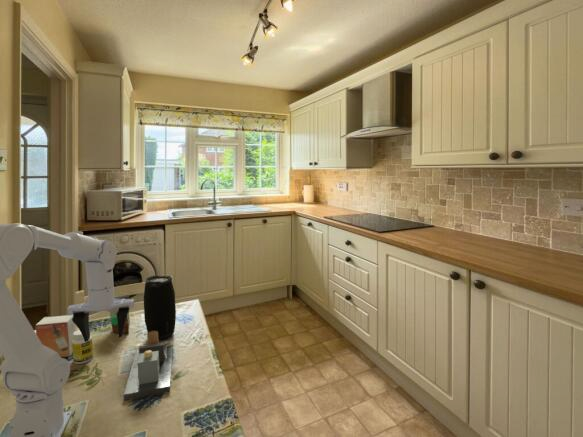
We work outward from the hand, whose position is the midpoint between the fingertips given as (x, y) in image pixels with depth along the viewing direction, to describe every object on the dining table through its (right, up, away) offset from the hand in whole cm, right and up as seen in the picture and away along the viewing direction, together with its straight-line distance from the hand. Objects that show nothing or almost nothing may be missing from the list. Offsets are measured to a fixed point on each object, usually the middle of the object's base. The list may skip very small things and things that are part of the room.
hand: (104, 337), depth 83 cm
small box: (-20, -9, +12) cm, 25 cm away
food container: (-10, -7, +26) cm, 29 cm away
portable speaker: (+6, -8, +22) cm, 24 cm away
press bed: (+11, -10, +3) cm, 15 cm away
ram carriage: (+10, -8, +6) cm, 14 cm away
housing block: (+13, -9, -2) cm, 16 cm away
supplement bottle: (-11, -10, +8) cm, 17 cm away
